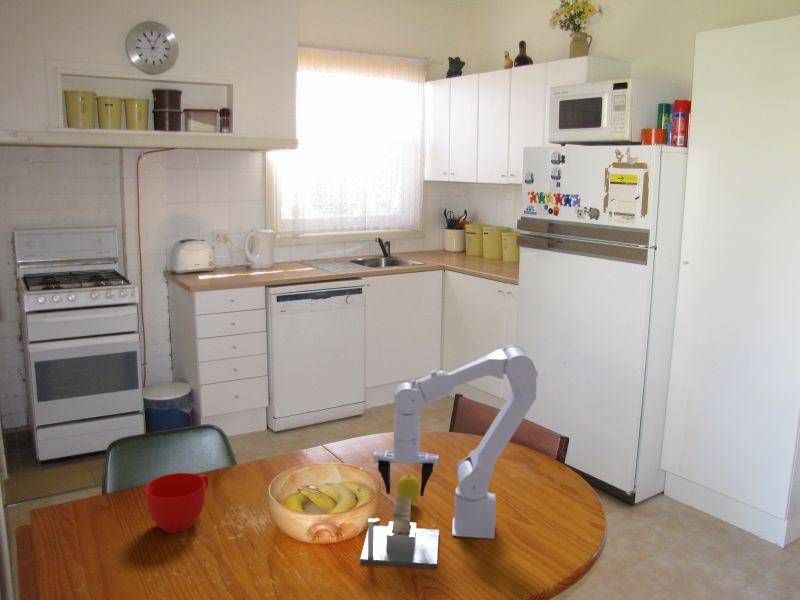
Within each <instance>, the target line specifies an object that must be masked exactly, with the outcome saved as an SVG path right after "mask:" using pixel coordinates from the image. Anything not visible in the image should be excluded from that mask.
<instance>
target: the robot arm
mask: <svg viewBox="0 0 800 600" xmlns="http://www.w3.org/2000/svg"><path fill="white" fill-rule="evenodd" d="M537 371H538V370H537V368H536V366H535V364H534V362H533V360H532V359H531V358H530V357H529V356H528V355H527V353H526V351H525V349H523V347H521V346H520V345H516V344H511V345H508V346H505V347H504V348H503V349H502V348H499V349H495V350H494V351H492V352H490V353H488V354H486V355H484V356H482V357H480V358H478V359H475V360H474V361H472V362H470V363H467V364H466V365H463V366H461V367H459V368H457V369H454V370H452V371H450V372H448V371H445V370H443V369H441V370H438V371H437V370H436V369H433V370H430V374H428V375H426V376H423V377H421V378H419V379H415V378H413V379H411V380H410V382H407V381H406V382H402V383H400V384H398V386H397V387H395V390H394V392H393V397H394V404H395V408H394V418H393V450H386V451H374V452H373V463H374V464H377V465H378V466H377V469H378V473H380V476H381V478H382V479H383V483H384V486H385V492H386V494H387V495H390V493H391V487H392V486H391V463H392V464H393V463H394V464H404V465H408V464H410V465H411V464H413V465H421V481H420V482H421V484H420V493H419V497H422V496H423V497H424V495H425V494H424V493H425V488H426V485H427V483H428V480H429V478H430V477H431V475H432V473H433V471H434V467H438V466H439V455H438V454H432V453H426V452H421V451H420V427H421V426H420V425H421V424H420V419H421V418H420V410H421V407H422V406H424V405H427V404H430V403H432V402H436V401H439V400H440V399H442V398H445V397H448V396H451V394H452V393H453V391H454V389H455V387H458V386H461V385H464V384H466V383H469V382H472V381H475V380H478V379H481V378H484V377H487V376H491V377H494V378H497V379H500V380H504V375H506V378H507V379H508V382H509V385H510V389H511V393H510V394H509V396H508V397H507V399H506V401H505V402H504V404H503V405H502V407H501V409H500V411H499V412H498V413H497V415H496V417H495V418H494V420H493V421H492V423H491V425H490V426H489V428H488V429H487V431H486V433H484V436H483V437H482V439H481V441H480V442H479V444H478V446H477V447H476V448H475V449H473V450H471V451H470V452H469V454H468V455H467V456H466V457H465V458H463V459H461V460H460V461H459V462H458V463H457V466H456V470H455V473H456V476H457V479H458V485H457V486H456V487H455V492H454V494H455V495H454V517H452V524H451V525H452V526H451V528H452V529H451V535H452V536H453V537H461V538H462V537H464V538H478V539H479V538H480V539H495V529H496V527H495V526H496V525H497V518H496V513H497V511H496V508H497V507H496V505H497V503H496V500H497V499H496V497H497V496H496V493H492V492H488V490H489V483H490V481H491V479H492V477H493V474H494V468H495V464H496V463H497V460H498V459H499V457H500V456H501V455H502V453H503V451H504V450H505V448H506V447H507V445H508V443H509V442H510V440H511V439H512V437H513V435H514V434H515V433H516V431H517V430H518V428H519V426H520V424H521V423H522V421H523V420H524V418H525V417H526V415H527V413H528V412H529V411H530V408H531V407H532V406H533V404H534V403H535V401H536V398H537V377H538V376H539V375H538V372H537Z"/></svg>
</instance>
